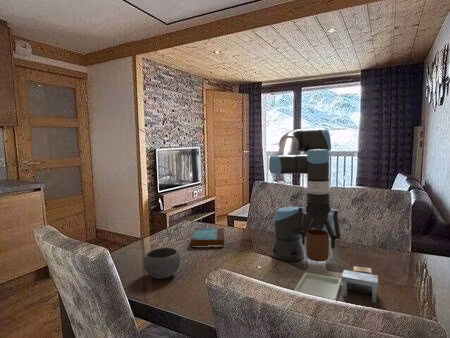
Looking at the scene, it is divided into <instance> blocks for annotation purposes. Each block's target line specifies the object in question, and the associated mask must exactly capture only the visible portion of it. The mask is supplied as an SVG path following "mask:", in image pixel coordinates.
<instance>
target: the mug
mask: <svg viewBox="0 0 450 338" xmlns="http://www.w3.org/2000/svg"><path fill="white" fill-rule="evenodd" d="M329 239H330V236H328V232H327V231H324V230H319V229H315V228H312V229H311V230H308V231H307V232H306V255H305V257H306V258H307V259H308V260H310V261H312V262H321V263H322V262H325V261H326V262H327V260H328V259H329Z"/></svg>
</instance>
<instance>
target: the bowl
mask: <svg viewBox="0 0 450 338" xmlns="http://www.w3.org/2000/svg"><path fill="white" fill-rule="evenodd" d="M180 265H181V255H180V252H179V251H178V250H177V249H175V248H173V247H158V248H155V249H151V250H149V251H148V252H147V253H145V255H144V259H143V268H144V272H146V274H147V275H148V276H150V277H151V278H154V279H157V280H158V279H159V280H164V279H167V278H170V277H171V276H173V275H174V274H176V272H177V271H178V270H179V268H180Z"/></svg>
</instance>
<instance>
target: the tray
mask: <svg viewBox="0 0 450 338" xmlns="http://www.w3.org/2000/svg"><path fill="white" fill-rule="evenodd" d="M342 285H343V281H342V278H339V277H333V276H329V275H327V276H326V275H323V274H318V273H311V272H306V271H305V272H304V273H303V275H302V276H301V278H300V280H299V282H298V283H297V285H296V286H295V288H294V290H295V291H298V292H302V293H306V294H310V295H315V296H319V297H323V298H328V299H332V300H338V297H339V293H340V290H341V287H342ZM294 290H293V291H294Z"/></svg>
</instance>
